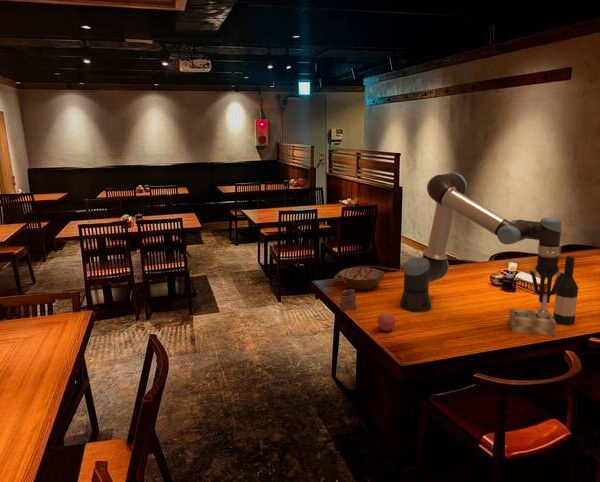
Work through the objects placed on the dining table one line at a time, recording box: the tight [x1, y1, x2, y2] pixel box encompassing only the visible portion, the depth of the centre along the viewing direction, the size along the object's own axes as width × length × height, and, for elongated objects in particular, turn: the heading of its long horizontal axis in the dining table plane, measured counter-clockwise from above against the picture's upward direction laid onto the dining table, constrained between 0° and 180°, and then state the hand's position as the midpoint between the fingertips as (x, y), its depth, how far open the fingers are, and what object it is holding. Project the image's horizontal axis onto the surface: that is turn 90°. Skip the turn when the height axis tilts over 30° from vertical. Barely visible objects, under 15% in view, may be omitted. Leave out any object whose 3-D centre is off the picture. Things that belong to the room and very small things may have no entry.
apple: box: [377, 312, 396, 332], centre depth 199 cm, size 7×7×8 cm
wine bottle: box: [552, 254, 579, 326], centre depth 202 cm, size 8×8×30 cm
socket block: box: [508, 308, 557, 337], centre depth 198 cm, size 16×12×6 cm
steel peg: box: [537, 308, 549, 319], centre depth 196 cm, size 4×4×6 cm
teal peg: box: [516, 312, 527, 317], centre depth 199 cm, size 4×4×6 cm
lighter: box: [339, 288, 357, 312], centre depth 224 cm, size 8×3×10 cm, turn 106°
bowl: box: [338, 266, 386, 291], centre depth 259 cm, size 25×25×8 cm
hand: (543, 309), depth 195 cm, fingers closed
